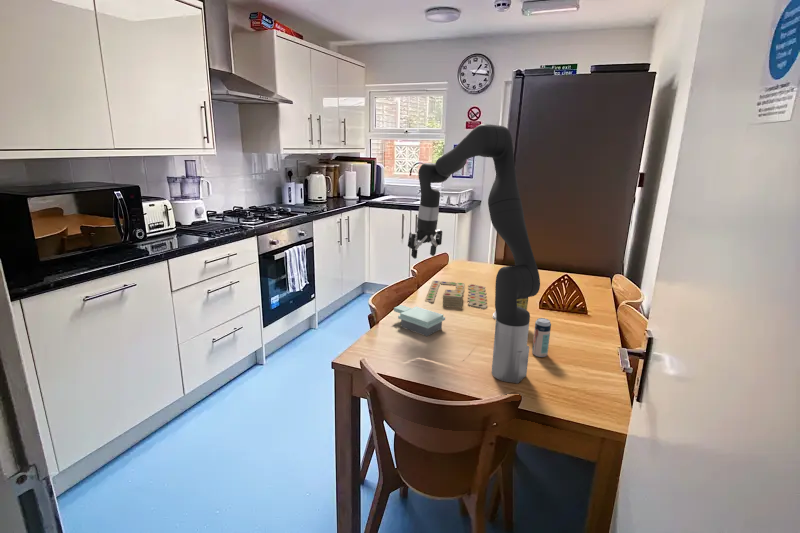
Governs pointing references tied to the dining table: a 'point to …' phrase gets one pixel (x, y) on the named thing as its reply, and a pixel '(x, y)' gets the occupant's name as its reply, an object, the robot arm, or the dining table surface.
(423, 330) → the tub
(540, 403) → the dining table surface
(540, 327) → the beer can
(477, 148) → the robot arm
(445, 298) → the pile of dominoes
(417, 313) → the lid
